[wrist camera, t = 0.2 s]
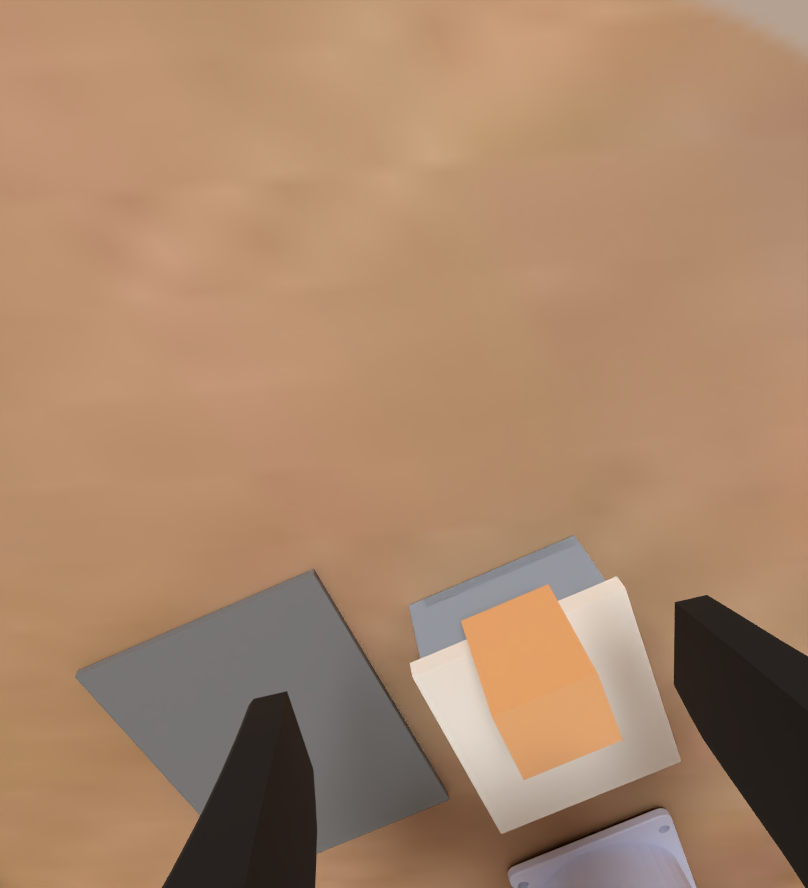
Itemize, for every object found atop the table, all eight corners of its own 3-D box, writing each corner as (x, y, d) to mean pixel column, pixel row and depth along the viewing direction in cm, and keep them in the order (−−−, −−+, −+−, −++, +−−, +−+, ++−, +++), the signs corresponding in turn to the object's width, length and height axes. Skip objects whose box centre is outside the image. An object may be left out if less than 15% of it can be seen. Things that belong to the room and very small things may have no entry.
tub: (627, 684, 26) (663, 745, 24) (482, 743, 27) (501, 811, 24) (574, 535, 23) (610, 587, 20) (408, 605, 23) (422, 665, 20)
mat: (448, 793, 28) (449, 799, 27) (257, 871, 28) (256, 878, 28) (313, 568, 22) (313, 574, 22) (77, 670, 22) (75, 677, 22)
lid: (666, 736, 24) (742, 861, 20) (493, 806, 24) (532, 944, 20) (599, 535, 20) (678, 640, 16) (391, 623, 20) (414, 749, 16)
